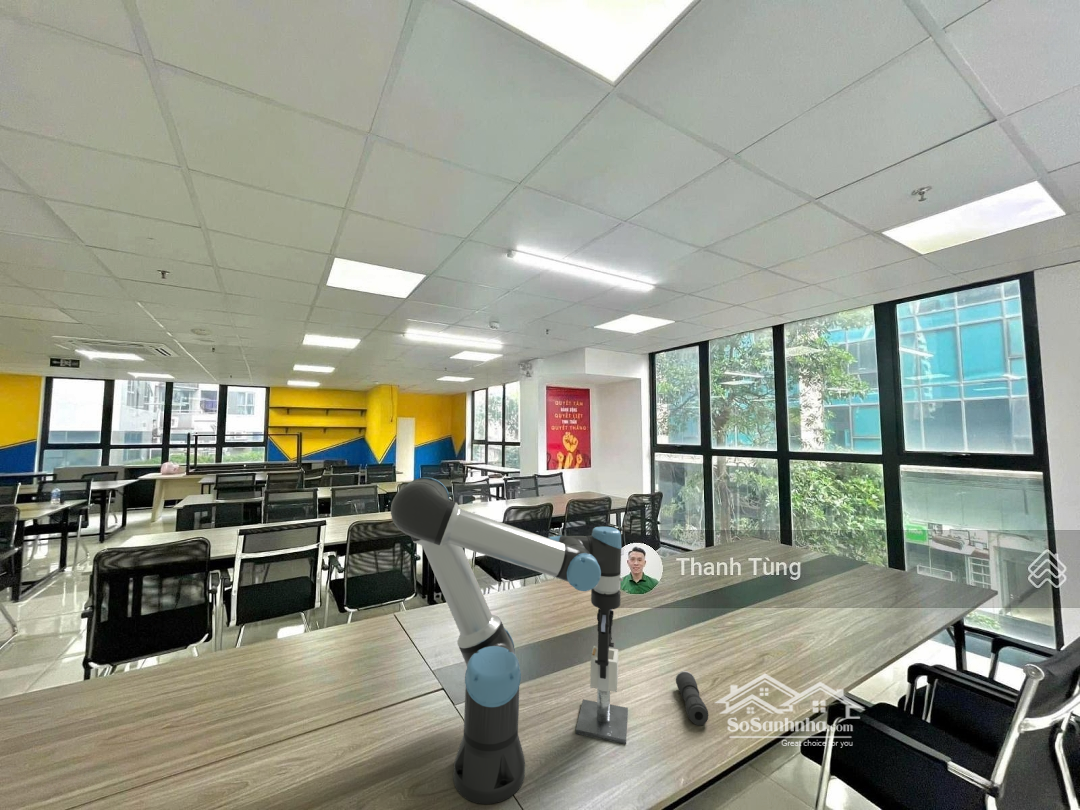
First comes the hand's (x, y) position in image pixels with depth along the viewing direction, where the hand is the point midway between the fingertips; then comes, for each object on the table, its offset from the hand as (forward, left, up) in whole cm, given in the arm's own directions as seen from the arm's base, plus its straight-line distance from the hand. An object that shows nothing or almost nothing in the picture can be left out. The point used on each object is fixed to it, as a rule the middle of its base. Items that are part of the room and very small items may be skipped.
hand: (604, 681), depth 107 cm
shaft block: (0, 0, -10) cm, 10 cm away
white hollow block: (0, 0, 0) cm, 0 cm away
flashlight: (+13, -23, -11) cm, 28 cm away
